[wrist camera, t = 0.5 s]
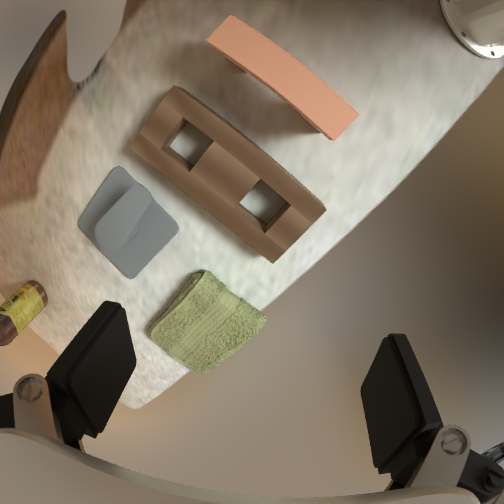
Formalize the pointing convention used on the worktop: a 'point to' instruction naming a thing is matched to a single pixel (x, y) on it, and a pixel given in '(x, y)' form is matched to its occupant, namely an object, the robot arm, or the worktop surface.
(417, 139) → the worktop surface
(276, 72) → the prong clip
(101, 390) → the robot arm
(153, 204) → the shower valve
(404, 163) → the worktop surface
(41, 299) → the sauce bottle
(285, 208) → the slotted rail
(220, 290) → the washcloth
